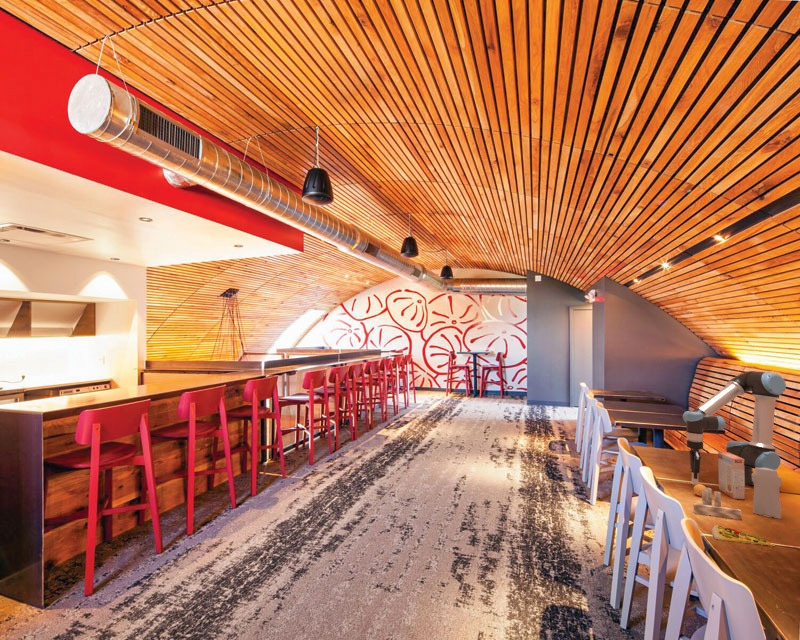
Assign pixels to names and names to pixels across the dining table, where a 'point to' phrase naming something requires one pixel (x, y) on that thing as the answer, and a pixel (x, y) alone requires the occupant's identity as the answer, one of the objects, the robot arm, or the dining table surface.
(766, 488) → the tall pale column
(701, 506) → the back wall
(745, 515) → the dining table surface
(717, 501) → the pin
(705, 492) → the pin
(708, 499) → the front pin
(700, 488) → the ball
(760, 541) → the pizza slice
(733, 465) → the cracker box
